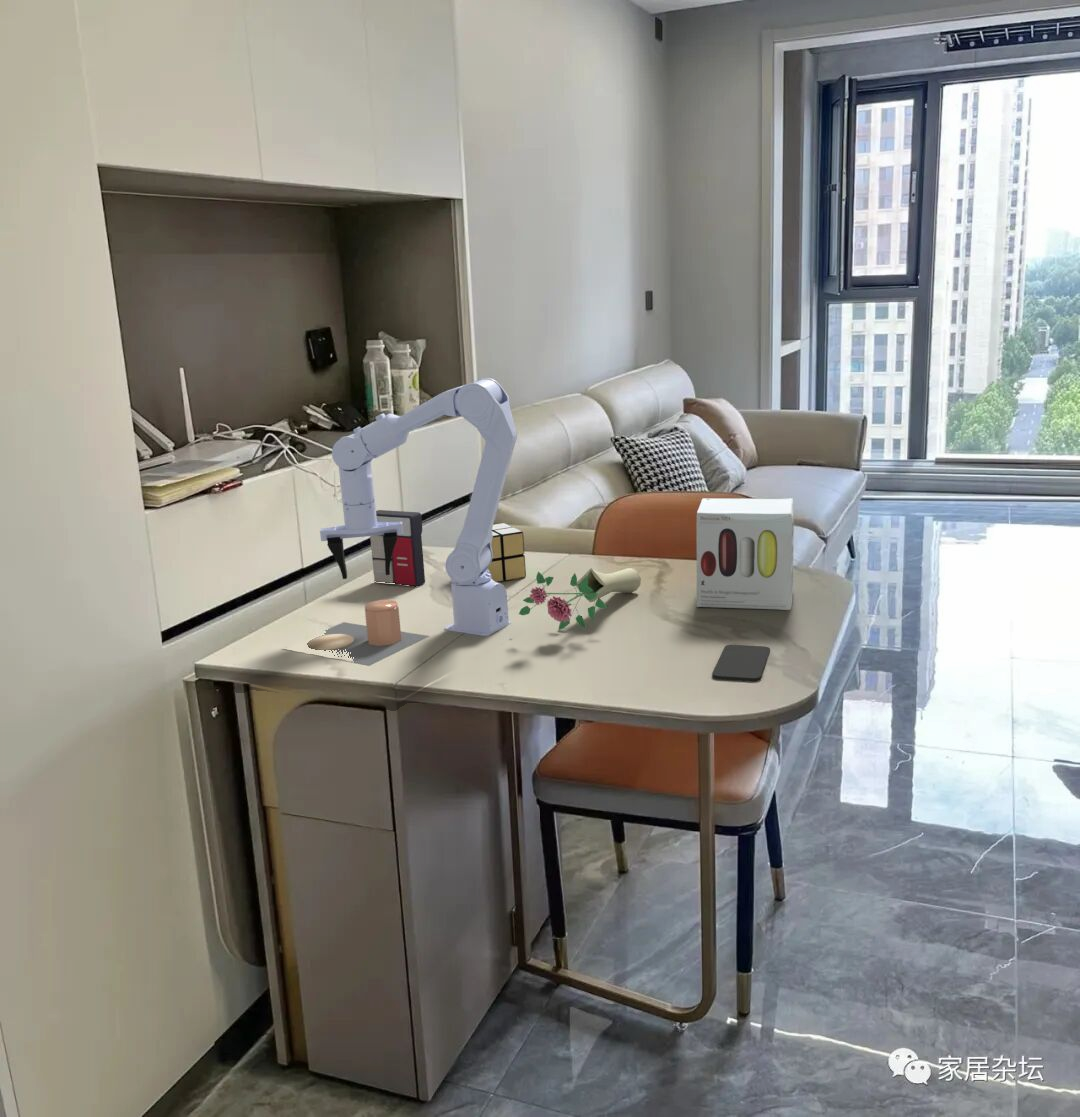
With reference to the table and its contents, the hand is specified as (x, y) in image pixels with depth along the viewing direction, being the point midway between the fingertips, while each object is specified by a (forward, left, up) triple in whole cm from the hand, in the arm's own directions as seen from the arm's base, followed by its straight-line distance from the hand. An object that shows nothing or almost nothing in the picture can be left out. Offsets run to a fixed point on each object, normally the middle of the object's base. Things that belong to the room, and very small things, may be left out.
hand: (366, 575), depth 195 cm
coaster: (0, +11, -9) cm, 14 cm away
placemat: (-4, +9, -10) cm, 14 cm away
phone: (-68, -9, -10) cm, 70 cm away
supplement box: (-56, -41, -10) cm, 70 cm away
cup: (-8, +6, -9) cm, 14 cm away
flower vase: (-35, -20, -10) cm, 42 cm away
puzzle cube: (-2, -37, -10) cm, 38 cm away
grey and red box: (+14, -25, -10) cm, 30 cm away
